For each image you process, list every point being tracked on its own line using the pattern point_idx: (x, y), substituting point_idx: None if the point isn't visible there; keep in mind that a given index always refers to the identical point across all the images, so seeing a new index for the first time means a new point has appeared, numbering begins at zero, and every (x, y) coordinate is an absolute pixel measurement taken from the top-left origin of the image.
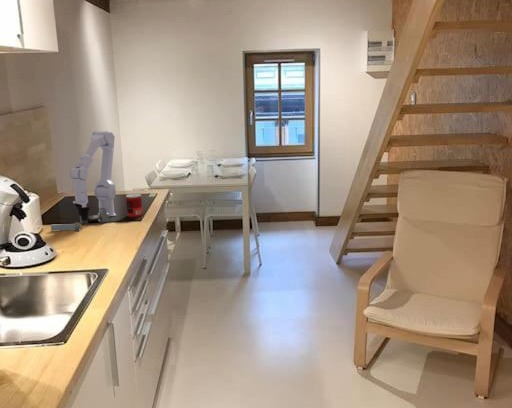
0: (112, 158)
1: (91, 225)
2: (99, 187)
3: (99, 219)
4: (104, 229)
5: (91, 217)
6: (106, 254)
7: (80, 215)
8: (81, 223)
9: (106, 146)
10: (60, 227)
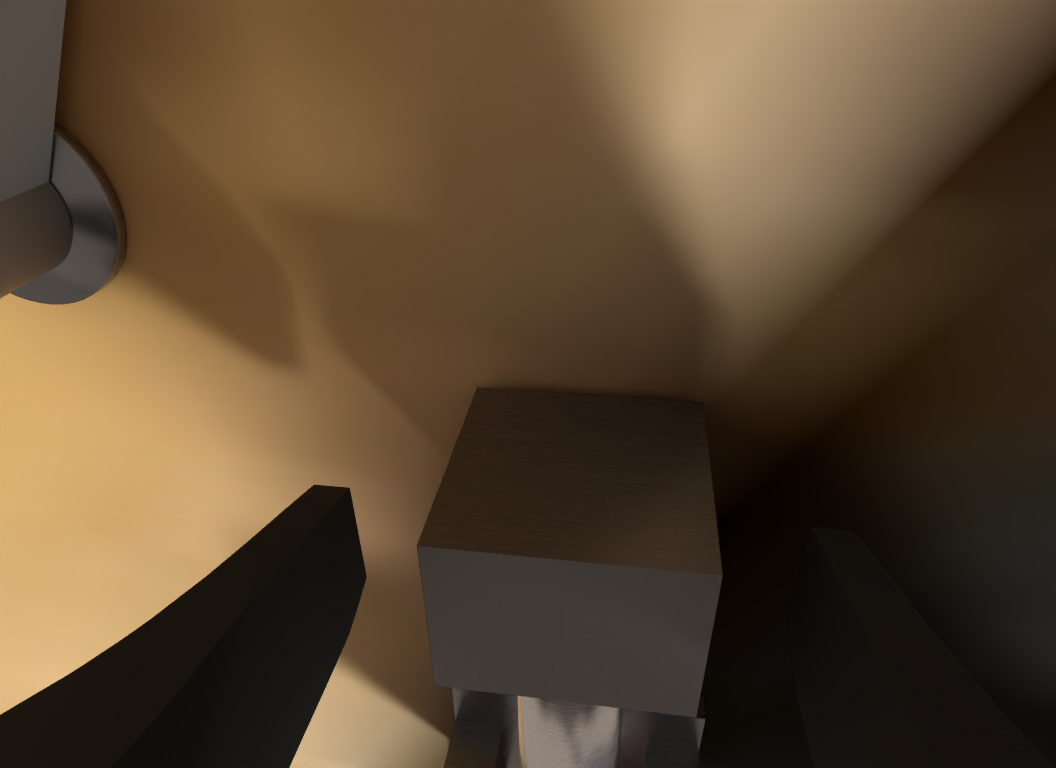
0: None
1: (373, 530)
2: None
3: (676, 737)
4: (4, 606)
5: (520, 703)
6: None
7: (661, 585)
8: (501, 406)
9: None
10: None
